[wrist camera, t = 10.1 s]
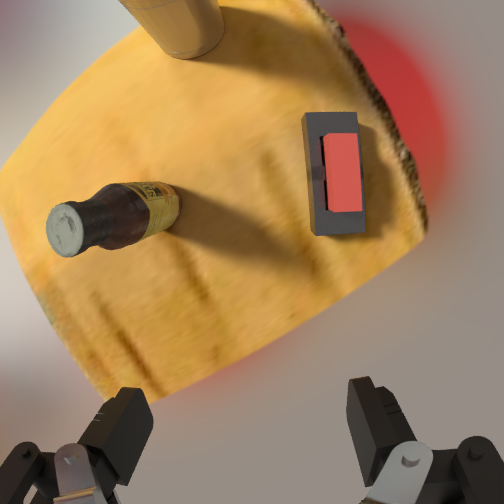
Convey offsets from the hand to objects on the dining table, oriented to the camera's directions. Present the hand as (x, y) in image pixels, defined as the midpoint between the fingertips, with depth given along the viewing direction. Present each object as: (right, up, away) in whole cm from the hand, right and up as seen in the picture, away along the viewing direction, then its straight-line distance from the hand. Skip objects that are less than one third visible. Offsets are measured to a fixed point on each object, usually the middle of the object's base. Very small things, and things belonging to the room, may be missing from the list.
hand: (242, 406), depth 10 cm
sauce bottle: (-12, +12, +28) cm, 32 cm away
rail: (+10, +15, +25) cm, 31 cm away
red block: (+10, +15, +25) cm, 31 cm away
